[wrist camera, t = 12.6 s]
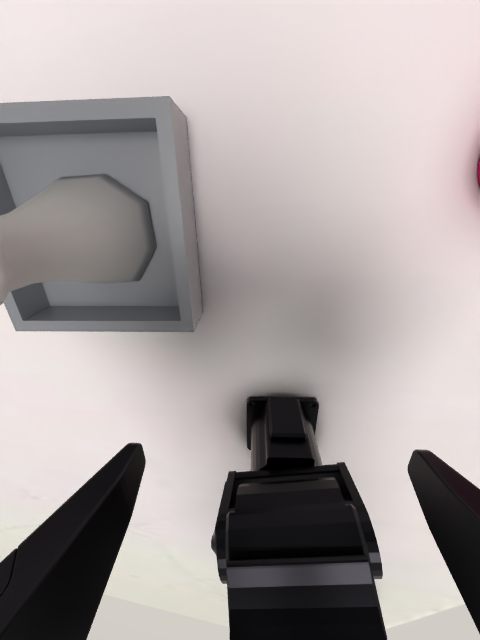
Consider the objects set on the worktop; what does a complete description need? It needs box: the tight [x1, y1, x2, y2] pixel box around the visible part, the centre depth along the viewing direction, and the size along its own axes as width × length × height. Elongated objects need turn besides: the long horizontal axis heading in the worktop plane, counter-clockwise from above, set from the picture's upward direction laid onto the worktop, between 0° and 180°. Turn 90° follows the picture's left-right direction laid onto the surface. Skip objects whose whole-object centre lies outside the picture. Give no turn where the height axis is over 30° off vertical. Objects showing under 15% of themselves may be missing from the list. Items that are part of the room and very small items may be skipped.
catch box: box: [0, 96, 203, 332], centre depth 17 cm, size 13×13×4 cm
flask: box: [0, 174, 156, 305], centre depth 13 cm, size 7×7×10 cm
